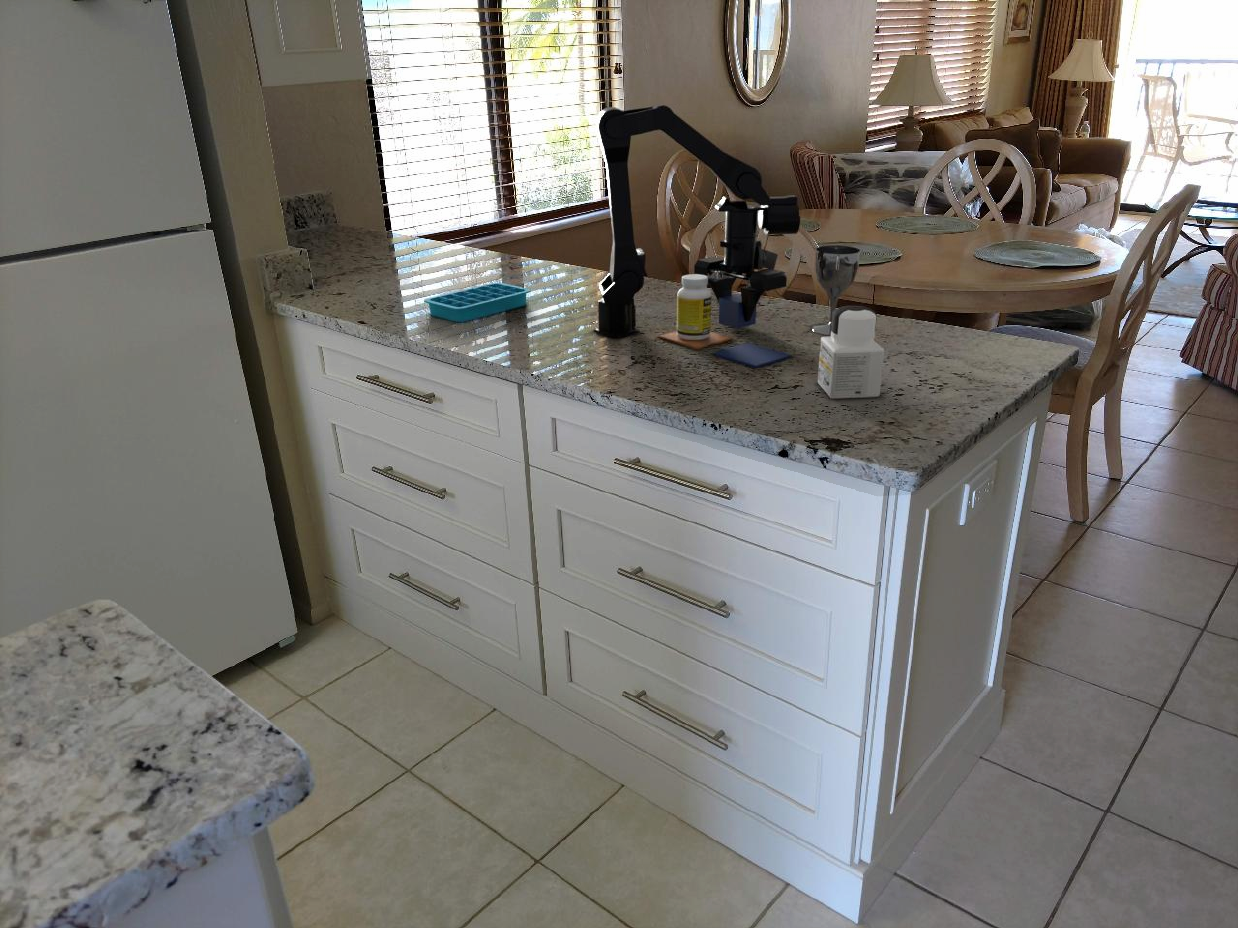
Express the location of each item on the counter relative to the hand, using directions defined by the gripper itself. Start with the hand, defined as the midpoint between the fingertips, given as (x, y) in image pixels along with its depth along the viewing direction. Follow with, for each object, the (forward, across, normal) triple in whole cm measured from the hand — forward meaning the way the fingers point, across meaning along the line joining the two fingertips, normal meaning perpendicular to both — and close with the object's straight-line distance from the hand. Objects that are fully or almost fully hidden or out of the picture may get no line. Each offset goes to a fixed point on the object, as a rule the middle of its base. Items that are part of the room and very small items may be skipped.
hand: (737, 318), depth 182 cm
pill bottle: (+2, 0, +11) cm, 11 cm away
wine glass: (+2, -13, -12) cm, 18 cm away
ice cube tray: (+2, +45, +29) cm, 54 cm away
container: (+2, -36, +13) cm, 38 cm away
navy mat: (+2, -14, +11) cm, 18 cm away
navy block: (+1, 0, 0) cm, 1 cm away
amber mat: (+2, 0, +11) cm, 11 cm away
